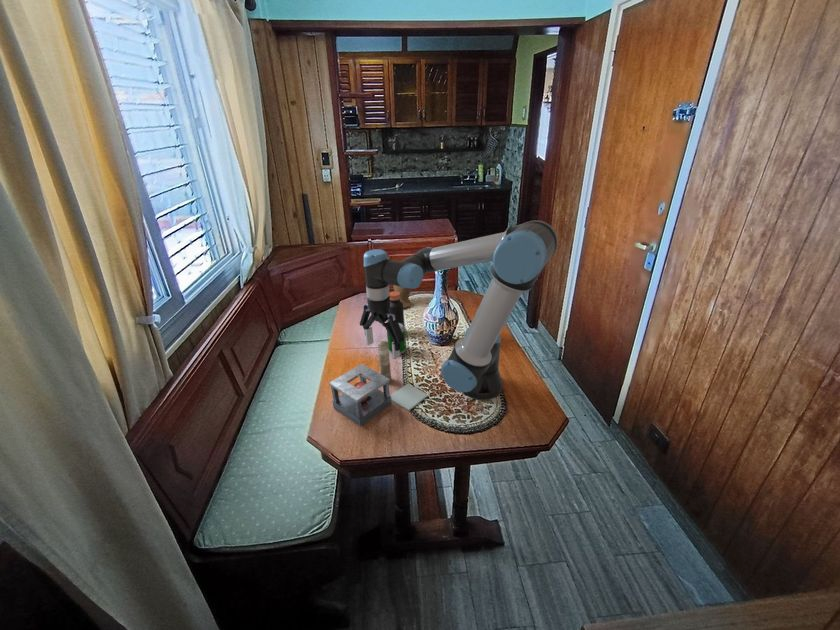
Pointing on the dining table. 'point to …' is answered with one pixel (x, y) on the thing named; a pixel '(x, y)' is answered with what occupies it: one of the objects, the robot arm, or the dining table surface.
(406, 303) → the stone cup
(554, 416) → the dining table surface
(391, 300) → the bottle
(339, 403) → the grey open frame cage
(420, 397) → the coaster
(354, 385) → the plunger
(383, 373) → the dowel
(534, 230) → the robot arm
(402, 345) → the soda can
